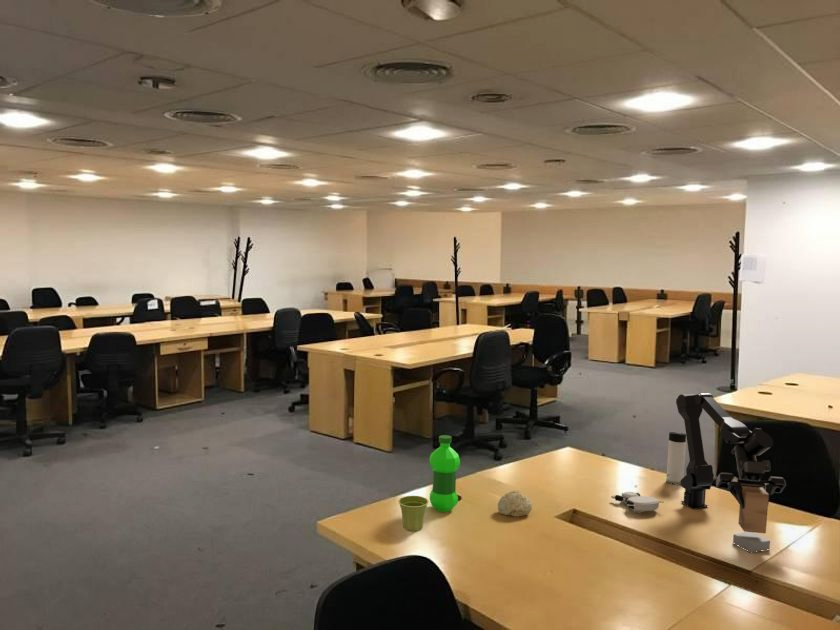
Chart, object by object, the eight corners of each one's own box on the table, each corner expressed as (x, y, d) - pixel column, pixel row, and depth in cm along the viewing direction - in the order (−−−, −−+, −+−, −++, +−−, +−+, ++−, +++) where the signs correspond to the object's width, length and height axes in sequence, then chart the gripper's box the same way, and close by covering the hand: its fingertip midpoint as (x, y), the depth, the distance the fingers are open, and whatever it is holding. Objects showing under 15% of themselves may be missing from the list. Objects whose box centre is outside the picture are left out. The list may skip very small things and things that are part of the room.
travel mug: (665, 483, 258) (667, 432, 257) (667, 478, 264) (670, 429, 262) (682, 486, 255) (685, 435, 254) (684, 481, 261) (687, 431, 259)
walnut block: (738, 523, 205) (741, 485, 204) (759, 525, 204) (762, 487, 203) (744, 531, 199) (747, 492, 198) (765, 533, 198) (768, 494, 197)
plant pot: (424, 535, 205) (425, 507, 204) (394, 531, 207) (395, 504, 206) (430, 523, 214) (431, 497, 213) (401, 520, 216) (402, 494, 215)
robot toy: (608, 504, 237) (635, 517, 223) (608, 491, 237) (635, 503, 223) (637, 501, 241) (665, 513, 227) (637, 488, 241) (665, 500, 227)
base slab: (750, 540, 207) (751, 531, 206) (769, 550, 200) (770, 540, 200) (733, 543, 204) (733, 534, 204) (751, 553, 198) (751, 543, 197)
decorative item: (519, 511, 216) (497, 491, 222) (511, 530, 220) (490, 510, 226) (542, 498, 223) (521, 479, 229) (535, 517, 227) (514, 498, 233)
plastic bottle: (463, 512, 224) (465, 439, 222) (434, 516, 220) (436, 442, 218) (451, 501, 233) (453, 431, 231) (423, 505, 230) (425, 434, 227)
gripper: (720, 446, 205) (727, 494, 195) (786, 451, 202) (797, 500, 192) (712, 464, 214) (719, 510, 204) (775, 468, 210) (785, 516, 200)
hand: (754, 508), depth 200 cm, fingers closed on walnut block, 6 cm apart
